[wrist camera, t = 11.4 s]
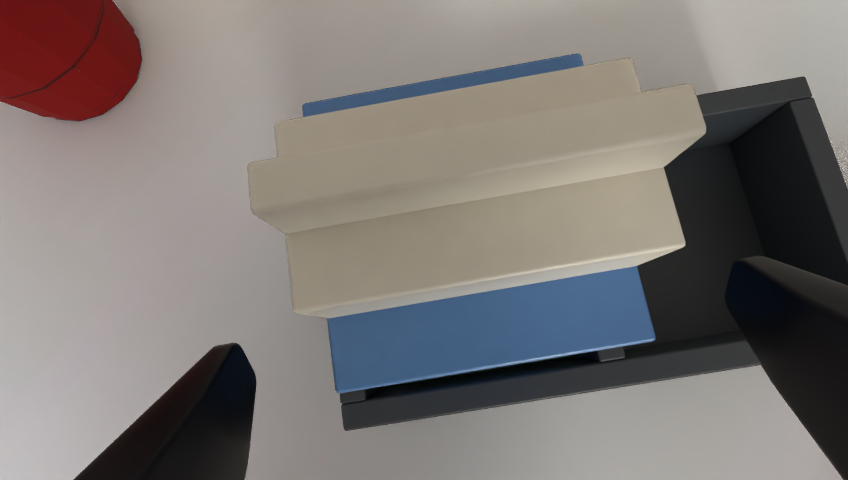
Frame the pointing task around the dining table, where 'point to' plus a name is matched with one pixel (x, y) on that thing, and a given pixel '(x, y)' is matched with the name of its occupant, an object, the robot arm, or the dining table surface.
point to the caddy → (683, 260)
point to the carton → (478, 215)
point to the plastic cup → (66, 57)
